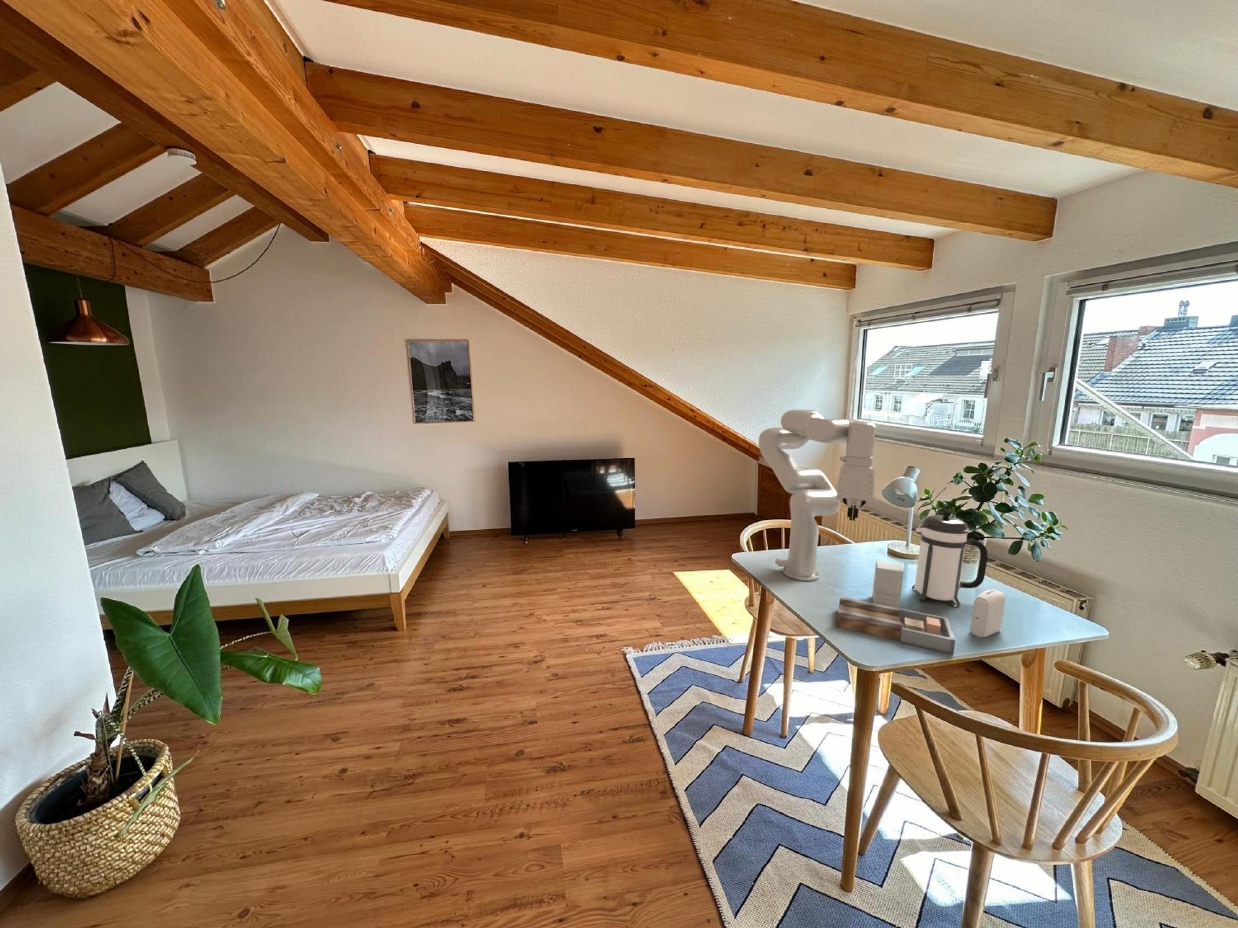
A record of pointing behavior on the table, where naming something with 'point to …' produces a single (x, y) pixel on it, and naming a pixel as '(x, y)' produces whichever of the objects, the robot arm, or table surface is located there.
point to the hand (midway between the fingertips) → (852, 519)
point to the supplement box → (887, 584)
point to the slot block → (869, 618)
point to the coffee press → (945, 558)
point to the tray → (927, 640)
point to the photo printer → (987, 613)
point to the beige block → (913, 624)
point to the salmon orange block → (932, 626)
